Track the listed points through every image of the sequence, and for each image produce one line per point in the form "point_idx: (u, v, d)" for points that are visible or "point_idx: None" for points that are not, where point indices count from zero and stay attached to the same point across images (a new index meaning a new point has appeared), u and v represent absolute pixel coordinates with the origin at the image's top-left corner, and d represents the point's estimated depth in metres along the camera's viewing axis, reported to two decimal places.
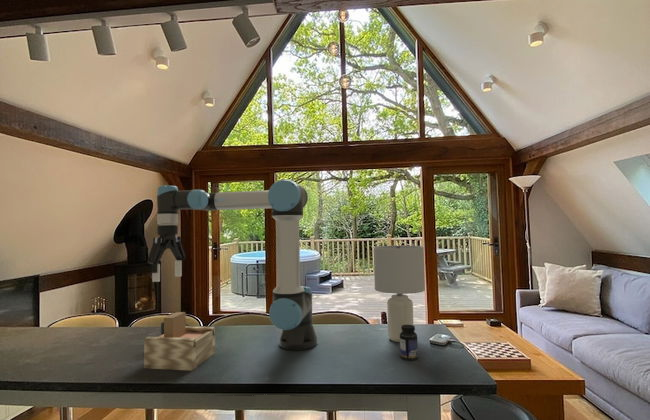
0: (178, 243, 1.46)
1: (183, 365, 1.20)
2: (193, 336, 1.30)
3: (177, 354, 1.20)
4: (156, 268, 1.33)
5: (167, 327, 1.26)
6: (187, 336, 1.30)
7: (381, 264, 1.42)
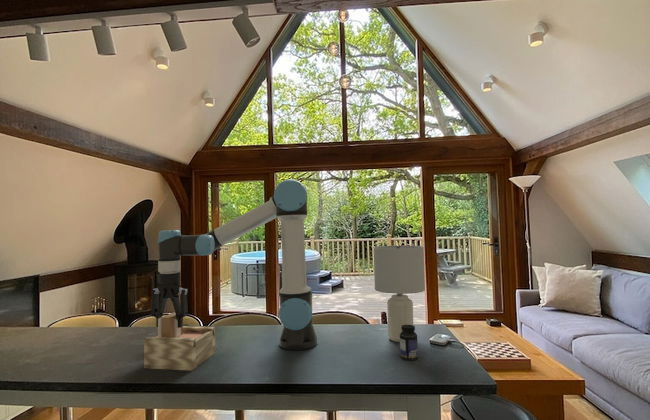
0: None
1: (183, 365, 1.20)
2: (190, 336, 1.30)
3: (177, 354, 1.20)
4: (158, 322, 1.30)
5: (164, 327, 1.26)
6: (184, 336, 1.30)
7: (381, 264, 1.42)
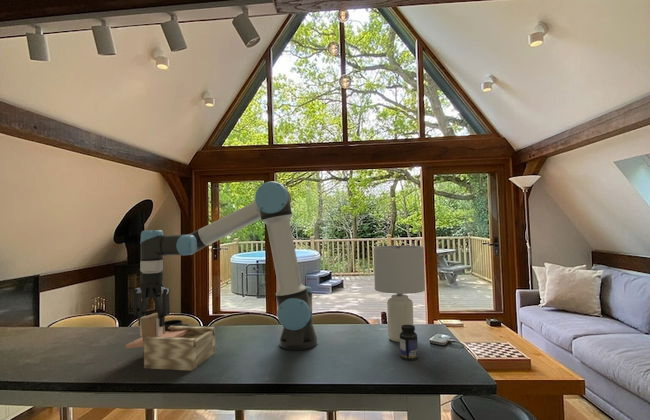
0: None
1: (183, 365, 1.20)
2: (172, 334, 1.31)
3: (177, 354, 1.20)
4: (140, 321, 1.31)
5: (144, 327, 1.27)
6: (166, 334, 1.31)
7: (381, 264, 1.42)
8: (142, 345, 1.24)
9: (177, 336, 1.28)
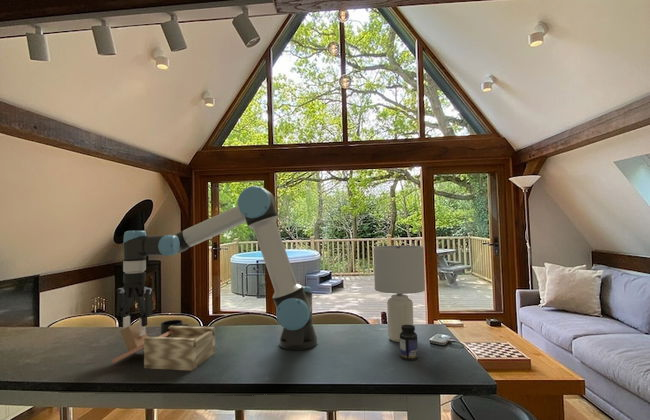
0: None
1: (183, 365, 1.20)
2: None
3: (177, 354, 1.20)
4: None
5: (127, 337, 1.27)
6: None
7: (381, 264, 1.42)
8: (129, 353, 1.24)
9: (162, 336, 1.30)
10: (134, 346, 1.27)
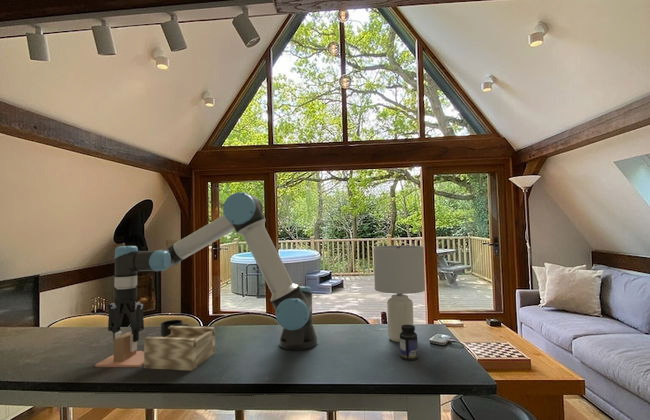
0: None
1: (183, 365, 1.20)
2: None
3: (177, 354, 1.20)
4: (114, 336, 1.33)
5: (117, 348, 1.27)
6: (138, 356, 1.32)
7: (381, 264, 1.42)
8: None
9: None
10: (120, 359, 1.27)
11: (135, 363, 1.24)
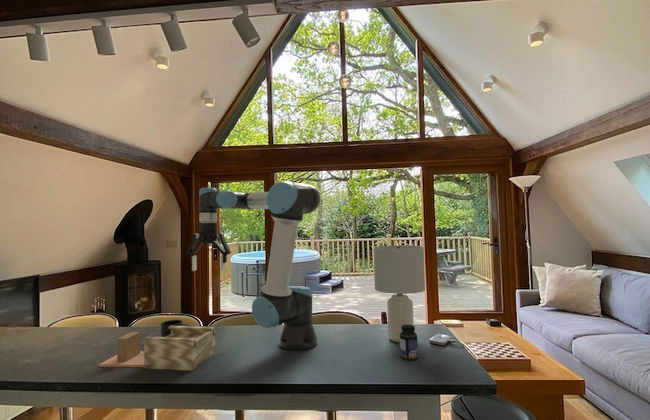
0: None
1: (183, 365, 1.20)
2: None
3: (177, 354, 1.20)
4: (191, 259, 1.59)
5: (121, 348, 1.27)
6: (141, 356, 1.32)
7: (381, 264, 1.42)
8: (116, 366, 1.24)
9: None
10: (124, 359, 1.27)
11: (139, 363, 1.24)
